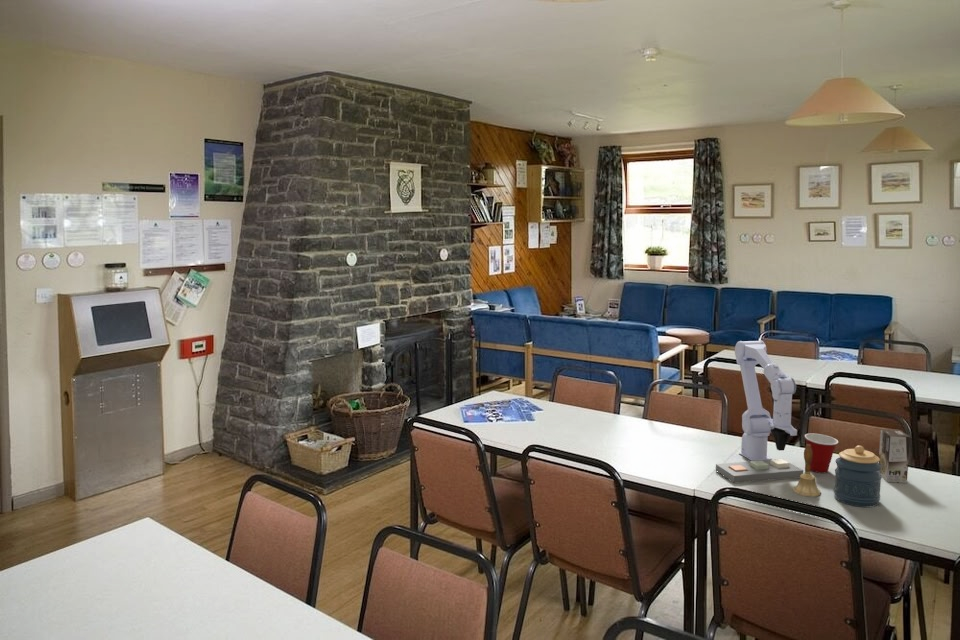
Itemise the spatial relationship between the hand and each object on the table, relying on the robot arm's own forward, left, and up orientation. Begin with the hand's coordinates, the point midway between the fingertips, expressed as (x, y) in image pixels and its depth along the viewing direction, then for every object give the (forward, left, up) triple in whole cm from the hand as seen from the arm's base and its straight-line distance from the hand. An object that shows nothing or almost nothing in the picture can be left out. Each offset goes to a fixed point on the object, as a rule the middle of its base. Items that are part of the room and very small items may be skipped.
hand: (780, 449), depth 243 cm
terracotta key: (0, -16, -7) cm, 18 cm away
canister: (+27, +9, -8) cm, 30 cm away
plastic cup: (+1, +15, -8) cm, 17 cm away
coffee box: (+13, +34, -8) cm, 37 cm away
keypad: (0, -8, -8) cm, 11 cm away
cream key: (0, 0, -6) cm, 6 cm away
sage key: (0, -8, -6) cm, 10 cm away
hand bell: (+18, -2, -8) cm, 20 cm away
